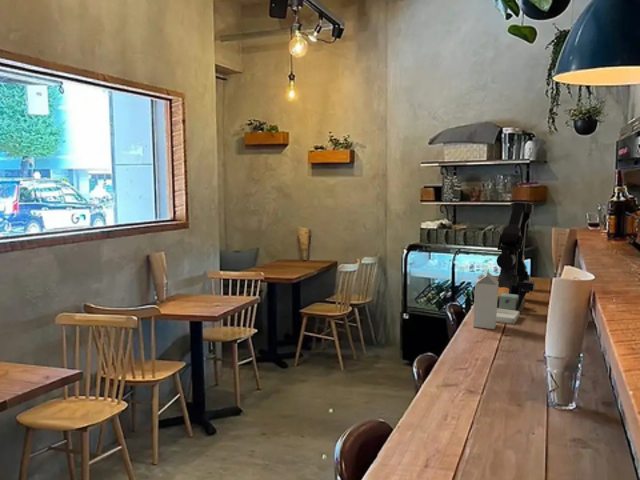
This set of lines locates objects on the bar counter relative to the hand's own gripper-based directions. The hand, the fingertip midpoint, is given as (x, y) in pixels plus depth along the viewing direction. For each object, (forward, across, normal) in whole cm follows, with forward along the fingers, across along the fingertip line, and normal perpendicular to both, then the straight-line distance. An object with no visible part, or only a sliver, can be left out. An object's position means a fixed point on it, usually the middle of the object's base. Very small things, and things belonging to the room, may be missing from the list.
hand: (506, 306), depth 228 cm
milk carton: (+2, -3, -26) cm, 26 cm away
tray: (+2, 0, -13) cm, 13 cm away
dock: (+2, 0, +6) cm, 6 cm away
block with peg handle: (+2, 0, +4) cm, 4 cm away
